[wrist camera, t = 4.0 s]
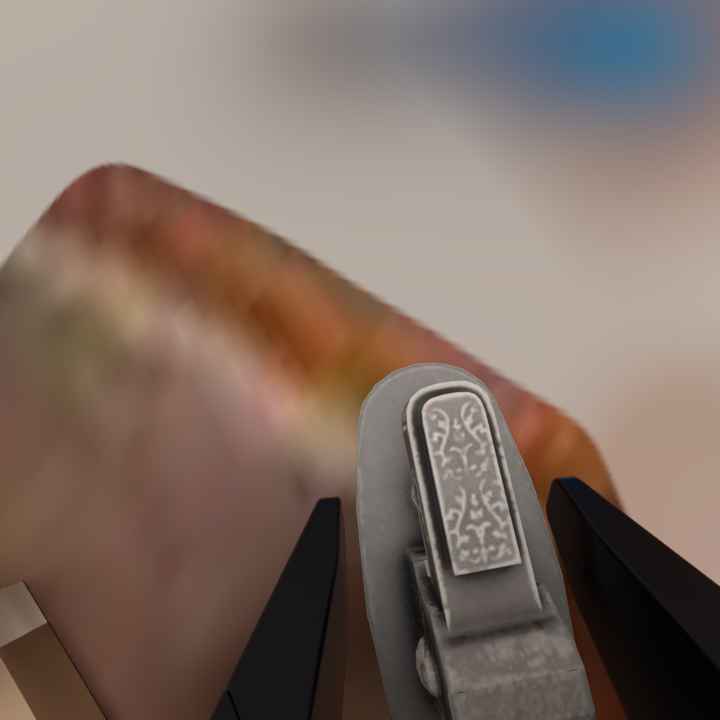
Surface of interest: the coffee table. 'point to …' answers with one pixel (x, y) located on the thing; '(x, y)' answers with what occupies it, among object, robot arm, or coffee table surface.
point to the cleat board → (37, 666)
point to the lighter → (459, 559)
